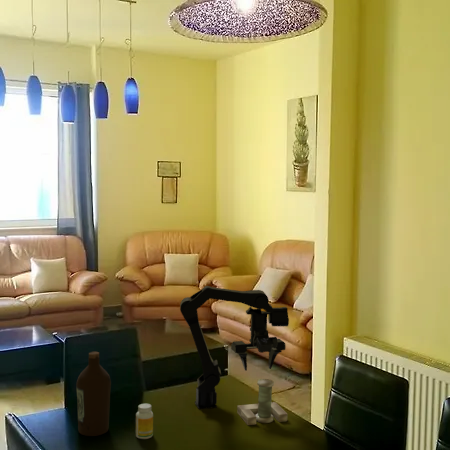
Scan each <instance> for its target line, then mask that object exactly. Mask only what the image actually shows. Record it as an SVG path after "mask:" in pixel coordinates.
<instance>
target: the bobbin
mask: <svg viewBox="0 0 450 450" xmlns="http://www.w3.org/2000/svg"><path fill="white" fill-rule="evenodd" d="M257 386H258V403H257V404H258V413H257V414H256V415H255V416H256V422H258V423H262V424H268V423H273V421H274V416H273V415H272V414H271V402H272V395H273V394H272V393H273V386H274V381H273V380H272V379H270V378H268V379H267V378H261V379H257Z"/></svg>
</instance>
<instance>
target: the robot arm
mask: <svg viewBox="0 0 450 450" xmlns="http://www.w3.org/2000/svg"><path fill="white" fill-rule="evenodd" d="M209 300H218V301H224V302H225V301H226V302H233V303H239V304H244V305H245V306H248V308H247V309H246V310H245V314H246V315H250V327H249V331H250V338H249V343H245V342H244V341H243V340H239V341H238V340H237V341H235V340H234V341H232V342H231V346H230V349H231V350H232V351H233V352H234V353H235V354H237V355H238V356H239V358H240V360H241V361H240V362H241V363H242V366H243V369H244V371H245V372H246V371H247V369H248V360H247V356H248V353H247V350H254V349H256V350H257V351H258V352H259V353H268V369H272V367H273V365H274V363H275V359H277V356H278V354H280V353H282V352H283V351H285V350H286V347H287V345H286V342H284V341H283V340H282V339H281V338H277V336H271V337H270V335H269V330H268V324H269V325H270V324H271V327H289V323H290V318H289V311H288V307H287V306H283V307H273V305H272V304H270V303H269V297H268V295H267V294H266V293H265V292H264V291H263V290H261V289H250V290H238V289H237V290H235V289H229V288H222V287H221V288H220V287H214V286H210V285H205V286H204V287H202V289H200V290H198V291H197V292H195V293H194V294H192V295H191V296H188V297H184V298H183V299H181V300H180V301H181V302H180V305H179V310H180V313H181V315H182V317H183V319H184V321H185V322H186V323H187V325H188V327H189V330H190V333H191V335H192V339H193V341H194V344H195V347H196V351H197V354H198V356H199V360H200V363H201V367H202V368H201V369H202V374H201V375H200V376H199V377H198V378H197V379H196V380H197V386H196V389H195V391H196V392H195V401H194V404H195V405H196V407H197V409H198V410H203V409H214V408H217V402H218V401H217V399H218V397H217V392H216V387H217V386H218V385H219V384H220V382H221V376H222V372H221V368H220V367H219V363H218V360H217V359H215V360H214V359H213V358H212V356H211V355H210V354H211V353H210V351H209V348H208V345H207V342H206V339H205V337H204V334H203V330H202V327H201V324H200V321H199V314H198V309H200V308H202V306H203V305H204V304H205V303H206V302H207V301H209Z"/></svg>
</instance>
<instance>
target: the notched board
mask: <svg viewBox="0 0 450 450" xmlns="http://www.w3.org/2000/svg"><path fill="white" fill-rule="evenodd" d="M236 406H237V408H236V410H237V412H236V413H237V414H238V415H239V417H240V418H241V419H242V420H243V421H244V422H245V424H246V426H253V425H257V421H256V416H255V415H256V414H257V413H258V403H252V404H251V403H250V404H241V405H239V404H238V405H236ZM271 414H272V415H273V418H274V419H275V420H276V421H278V423H283V422H287V421H288V413H287V411H285V410H284V409H283V408H282V406H280V405H279V404H278V403H277V402H276V401H273V402H272V401H271Z"/></svg>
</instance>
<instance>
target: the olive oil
mask: <svg viewBox="0 0 450 450" xmlns="http://www.w3.org/2000/svg"><path fill="white" fill-rule="evenodd" d="M87 359H88V360H87V361H88V363H87V364H88V365H87V366H85V368H84V369H83V370H82V371H81V372H80V374H79V375H78V377H77V380H76V384H75V385H76V386H75V387H76V397H77V398H76V400H77V401H76V402H77V429H78V431H77V432H78V433H79V434H80V435H82V436H85V437H97V436H101V435H103V434H105V433H107V432H108V431H109V428H110V425H109V424H110V406H111V404H110V403H111V388H112V380H111V376H110V374H109V373H108V371H107V370H106V369H104V368H103V366H102V365H101V364H100V352H98V351H90V352H88V358H87Z"/></svg>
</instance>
